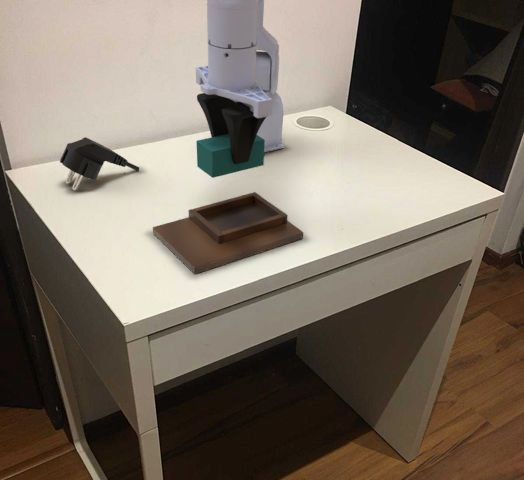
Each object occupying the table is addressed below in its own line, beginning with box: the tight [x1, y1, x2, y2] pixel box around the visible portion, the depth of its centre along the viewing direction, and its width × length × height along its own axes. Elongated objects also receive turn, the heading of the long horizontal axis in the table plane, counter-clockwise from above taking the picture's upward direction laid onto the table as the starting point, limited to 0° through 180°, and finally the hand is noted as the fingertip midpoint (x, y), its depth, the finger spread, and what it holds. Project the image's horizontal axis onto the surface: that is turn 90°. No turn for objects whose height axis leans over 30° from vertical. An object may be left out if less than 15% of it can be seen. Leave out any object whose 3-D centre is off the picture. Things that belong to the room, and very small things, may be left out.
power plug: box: [59, 136, 140, 191], centre depth 90 cm, size 6×8×12 cm
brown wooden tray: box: [152, 191, 304, 275], centre depth 79 cm, size 17×12×2 cm
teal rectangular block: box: [196, 134, 265, 179], centre depth 77 cm, size 8×4×4 cm, turn 124°
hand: (231, 155), depth 77 cm, fingers closed on teal rectangular block, 4 cm apart
